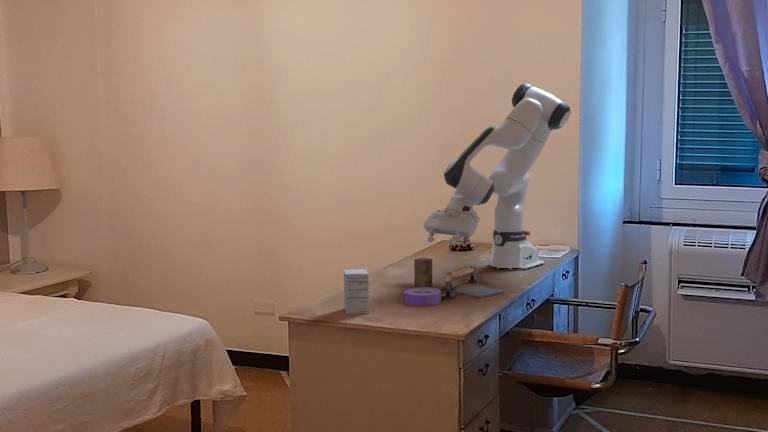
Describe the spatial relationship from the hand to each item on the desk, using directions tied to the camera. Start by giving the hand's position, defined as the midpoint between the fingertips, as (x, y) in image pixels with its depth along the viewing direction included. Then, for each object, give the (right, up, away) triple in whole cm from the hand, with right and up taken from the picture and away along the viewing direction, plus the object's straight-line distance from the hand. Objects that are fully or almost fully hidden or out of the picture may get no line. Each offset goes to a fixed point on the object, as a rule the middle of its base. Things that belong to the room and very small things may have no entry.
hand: (440, 242), depth 317 cm
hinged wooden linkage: (+5, -16, -7) cm, 18 cm away
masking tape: (-7, -19, -25) cm, 32 cm away
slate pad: (+12, -17, -13) cm, 24 cm away
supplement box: (-28, -20, -37) cm, 51 cm away
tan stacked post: (-6, -15, -3) cm, 17 cm away
